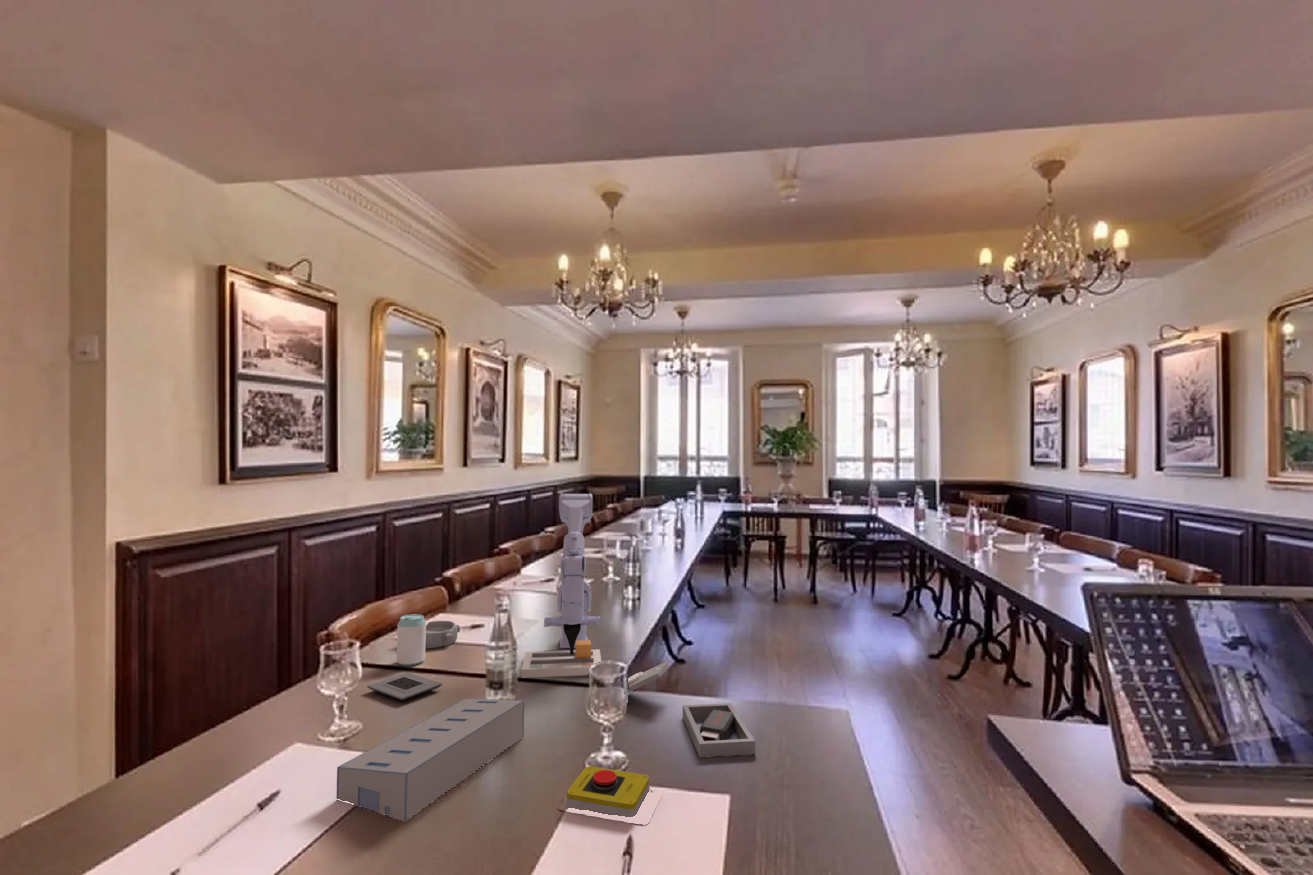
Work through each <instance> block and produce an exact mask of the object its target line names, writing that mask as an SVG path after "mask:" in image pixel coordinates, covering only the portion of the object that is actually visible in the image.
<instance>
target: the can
mask: <svg viewBox="0 0 1313 875" xmlns="http://www.w3.org/2000/svg"><path fill="white" fill-rule="evenodd" d="M426 625H427V621H426V619H425V618H424V615H423V614H418V613H414V614H413V613H412V614H405V615H402V616H401V617H400V619H399V621H398V623H397V632H396V663H397V664H399V665H400V666H406V667H407V666H416V665H419V664H421V663H422V662H423V661H425V659H426V648H425V643H426Z"/></svg>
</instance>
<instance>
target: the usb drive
mask: <svg viewBox="0 0 1313 875" xmlns="http://www.w3.org/2000/svg"><path fill="white" fill-rule="evenodd" d="M733 714H734V713H733V712H727V711H721V710H712V711H711V712H710V714H709V715H708V716H707V718H704V721H703V722H702V724H701V725H700V727H699V732H700V734H701V736H702V738H703V740H704V741H716V740H729V737H730V736H731V734H732V732H733V730H735V729H734V715H733Z"/></svg>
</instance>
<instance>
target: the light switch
mask: <svg viewBox="0 0 1313 875" xmlns="http://www.w3.org/2000/svg"><path fill="white" fill-rule="evenodd" d="M669 666H670V665H669V663H668V661H665V662H662V663H660V664H658V665H656V666H654V667H652V668H649V669H648V670H645V671H643V672H642V671H639V672H637V673H635V674H632V676H629V677H628V678H627V679H628V683H629V692H628V693H630V692H632V691H634V690H637V689H639V688H641V687H643V686H646V685H647V684H648V685H649V684H650V683H652V682H654V681H656V680H659V679H660V678H662V676H663V675H664V673H665V672H666V671H667V669H668V668H669Z"/></svg>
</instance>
